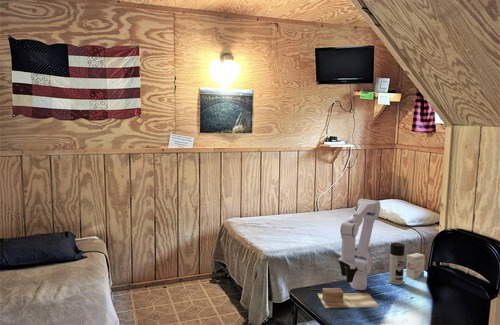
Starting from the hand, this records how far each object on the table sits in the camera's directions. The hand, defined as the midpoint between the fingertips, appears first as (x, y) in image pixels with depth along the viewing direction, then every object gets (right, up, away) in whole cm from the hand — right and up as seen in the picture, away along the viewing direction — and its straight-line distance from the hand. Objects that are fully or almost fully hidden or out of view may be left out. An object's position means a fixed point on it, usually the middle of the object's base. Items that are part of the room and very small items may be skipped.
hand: (346, 278), depth 179 cm
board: (0, -11, -1) cm, 11 cm away
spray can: (+30, -9, +23) cm, 39 cm away
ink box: (+44, -8, +32) cm, 55 cm away
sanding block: (-7, -9, -3) cm, 12 cm away
